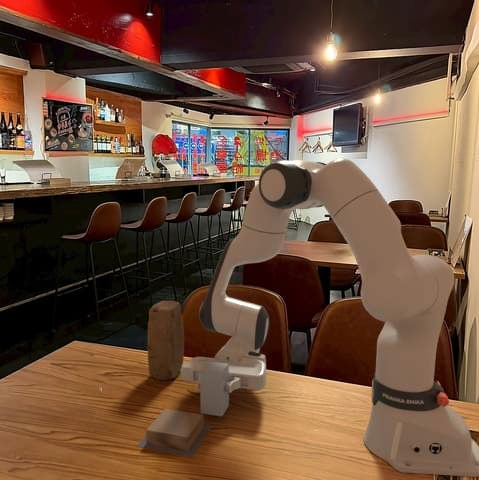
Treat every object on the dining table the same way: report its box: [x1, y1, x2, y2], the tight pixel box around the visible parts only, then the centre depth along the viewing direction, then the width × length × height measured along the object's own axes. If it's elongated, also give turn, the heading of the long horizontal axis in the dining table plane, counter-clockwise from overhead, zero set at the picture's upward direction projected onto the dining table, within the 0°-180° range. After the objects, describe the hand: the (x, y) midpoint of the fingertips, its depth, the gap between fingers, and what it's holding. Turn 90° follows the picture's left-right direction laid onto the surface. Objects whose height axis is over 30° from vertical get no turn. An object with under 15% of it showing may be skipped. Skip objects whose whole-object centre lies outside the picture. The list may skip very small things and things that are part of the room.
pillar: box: [199, 362, 230, 417], centre depth 105 cm, size 5×5×10 cm
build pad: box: [136, 423, 213, 458], centre depth 99 cm, size 12×12×1 cm
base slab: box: [145, 408, 205, 451], centre depth 98 cm, size 9×9×3 cm
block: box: [147, 300, 185, 381], centre depth 128 cm, size 11×8×20 cm
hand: (213, 387), depth 104 cm, fingers closed on pillar, 5 cm apart
